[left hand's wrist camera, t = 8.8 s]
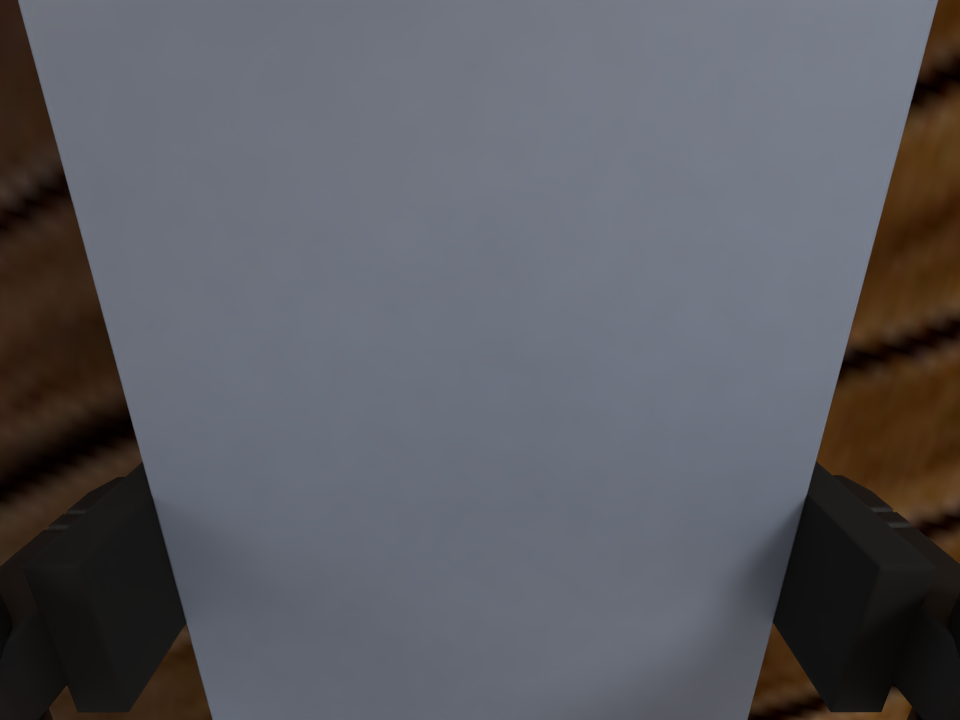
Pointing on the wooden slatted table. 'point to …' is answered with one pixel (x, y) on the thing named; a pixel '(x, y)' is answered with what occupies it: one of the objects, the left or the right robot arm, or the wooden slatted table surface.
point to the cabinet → (478, 328)
